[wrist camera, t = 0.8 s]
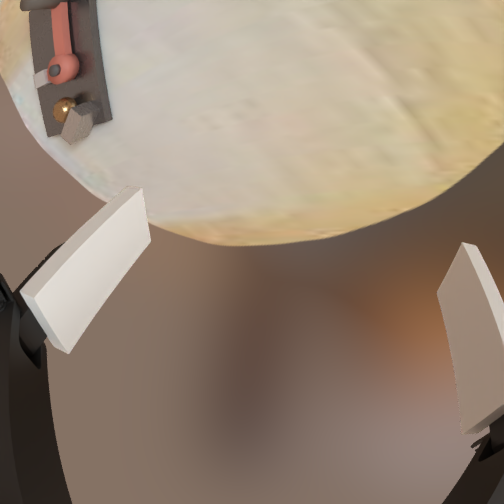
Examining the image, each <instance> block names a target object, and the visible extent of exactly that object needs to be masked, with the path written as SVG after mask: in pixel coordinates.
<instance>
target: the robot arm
mask: <svg viewBox="0 0 504 504" xmlns="http://www.w3.org/2000/svg"><path fill="white" fill-rule="evenodd" d="M150 242H151V238H150V232H149V227H148V221H147V215H146V209H145V203H144V196H143V190H142V188H141V187H131V186H127V187H126V188H125V189H124V190H122V191H121V192H120V193H119V194H118V195H116V196H115V197H114V198H113V199H112V200H111V201H109V202H108V203H107V204H106V205H105V206H104V207H103V208H102V209H100V210H99V211H98V212H97V213H96V214H95V215H94V216H93V217H92V218H90V220H88V221H87V222H86V223H85V224H84V225H83V226H82V227H81V228H80V229H79V230H78V231H77V232H75V233H74V234H73V235H72V236H71V237H70V238H69V239H68V240H67V241H66V242H64V243H63V244H61V245H60V246H58V247H56V248H55V249H53V250H52V251H51V252H50V253H49V254H48V255H47V257H45V260H42V262H41V263H40V264H39V265H38V267H36V268H35V269H34V270H33V271H32V272H31V273H30V274H29V275H28V277H27V278H26V279H25V280H24V281H23V282H22V283H21V284H20V285H19V287H18V288H17V289H16V290H15V291H14V292H13V293H12V291H11V290H10V288H9V286H8V284H7V283H6V281H5V279H4V277H3V275H2V274H1V273H0V504H72V501H71V498H70V495H69V491H68V488H67V484H66V481H65V477H64V473H63V469H62V465H61V460H60V456H59V452H58V446H57V441H56V436H55V430H54V424H53V417H52V410H51V403H50V393H49V383H48V370H47V353H46V352H47V350H46V345H45V343H44V340H45V339H46V337H48V338H49V340H50V341H51V343H52V344H53V346H54V347H56V348H58V349H60V350H62V351H64V352H65V353H68V354H69V353H70V352H71V350H72V348H73V347H74V345H75V344H76V342H77V341H78V339H79V338H80V336H81V335H82V334H83V332H84V331H85V329H86V328H87V326H88V325H89V323H90V322H91V321H92V319H93V318H94V316H95V315H96V313H97V312H98V311H99V309H100V308H101V306H102V305H103V304H104V302H105V301H106V299H107V298H108V297H109V295H110V294H111V292H112V291H113V290H114V289H115V287H116V286H117V284H118V283H119V282H120V280H121V279H122V278H123V276H124V275H125V274H126V273H127V271H128V270H129V269H130V267H131V266H132V265H133V264H134V262H135V261H136V260H137V258H138V257H139V256H140V255H141V253H142V252H143V251H144V249H145V248H146V247H147V246H148V244H149V243H150ZM437 296H438V299H439V303H440V307H441V311H442V314H443V319H444V323H445V327H446V332H447V336H448V341H449V346H450V351H451V356H452V361H453V367H454V373H455V380H456V386H457V394H458V402H459V410H460V421H461V434H474V433H479V432H480V431H482V430H483V429H485V428H486V427H488V426H489V427H490V433H488V434H487V435H485V436H484V437H482V438H481V439H479V440H477V441H476V442H475V443H473V444H472V446H471V448H474V447H475V446H477V445H479V444H480V443H481V444H480V446H479V448H478V449H476V450H475V451H476V453H475V455H474V457H473V458H472V460H471V462H470V463H469V465H468V467H467V468H466V470H465V471H464V473H463V474H462V476H461V478H460V479H459V480H458V482H457V484H456V485H455V486H454V488H453V489H452V491H451V492H450V493H449V495H448V496H447V498H446V499H445V501H444V502H443V503H442V504H504V303H503V301H502V298H501V296H500V294H499V291H498V289H497V287H496V285H495V282H494V280H493V278H492V276H491V274H490V272H489V270H488V268H487V266H486V264H485V262H484V260H483V258H482V256H481V254H480V252H479V250H478V248H477V246H475V245H471V244H467V243H463V242H462V244H461V246H460V248H459V250H458V252H457V254H456V256H455V259H454V260H453V263H452V264H451V267H450V268H449V270H448V272H447V274H446V276H445V278H444V280H443V282H442V284H441V286H440V287H439V289H438V291H437Z"/></svg>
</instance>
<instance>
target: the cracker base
mask: <svg viewBox="0 0 504 504" xmlns="http://www.w3.org/2000/svg"><path fill="white" fill-rule="evenodd" d="M67 6H68V20H69V31H70V41H71V49H72V53H73V54H75V55H76V56H77V58H78V60H79V71H78V74H77V76H76V77H75V78H74V79H73V80H71V81H68V82H64V83H61V84H57V85H56V84H53V83H50V84H48V85H46V86H43V87H40V88H37V89H38V95H39V100H40V105H41V110H42V115H43V119H44V124H45V128H46V132H47V136H48V137H51V136H54V135H57V134H61V137H62V138H63V139H64V140H65V141H67V142H68V143H69V144H70V145H72V144H73V143H75V142H77V141H79V140H81V139H83V138H85V137H87V136H88V135H89V133H90V130H91V128H92V126H93V125H95V124H99V123H103V122H107V121H109V120H111V119H112V114H111V109H110V104H109V99H108V93H107V87H106V81H105V75H104V69H103V62H102V55H101V47H100V39H99V30H98V20H97V8H96V0H68V2H67ZM29 23H30V37H31V47H32V56H33V64H34V71H35V74H37V73H38V72H40V71H42V70H44V69H48V65H49V62H50V61H51V59H52V58H53V57H55V49H54V41H53V30H52V18H51V9H42V10H32V11H30V12H29Z"/></svg>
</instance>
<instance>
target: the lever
mask: <svg viewBox="0 0 504 504" xmlns="http://www.w3.org/2000/svg"><path fill="white" fill-rule="evenodd" d="M67 2H68V0H21V2H20V9H21V10H22V11H31V10H42V9H51V18H52V30H53V41H54V49H55V57H53V58H52V59H51V61H50V62H49V65H48V69H44V70H42V71H40V72H38V73H37V74H35V75H33V76H34V82H35V88H36V89H37V88H40V87H43V86H46V85H48V84H50V83H53V84H56V85H57V84H61V83H64V82H68V81H71V80H73V79H74V78H75V77H76V76H77V74H78V71H79V60H78V58H77V56H76V55H75V54H73V53H72V49H71V41H70V31H69V20H68V6H67Z"/></svg>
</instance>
